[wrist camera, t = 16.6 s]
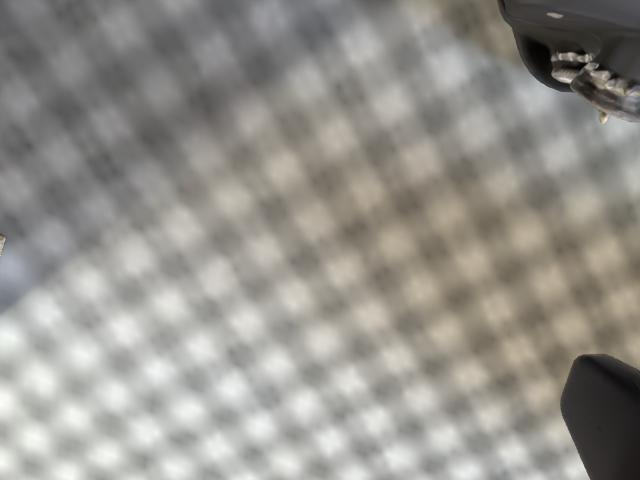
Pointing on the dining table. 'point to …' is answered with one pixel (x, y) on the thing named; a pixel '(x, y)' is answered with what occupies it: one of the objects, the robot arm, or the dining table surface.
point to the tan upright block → (2, 243)
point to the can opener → (582, 49)
